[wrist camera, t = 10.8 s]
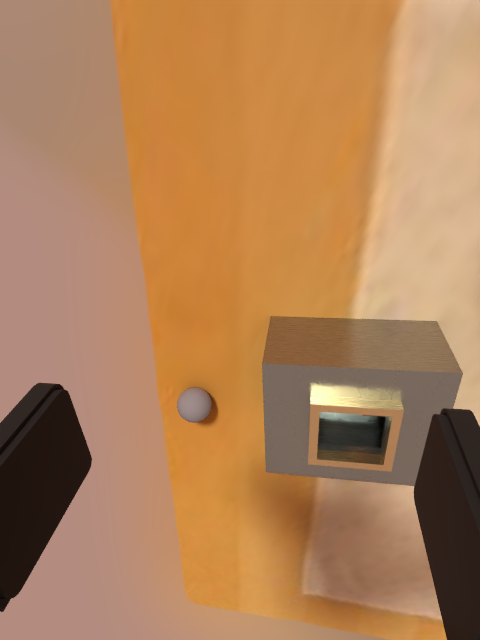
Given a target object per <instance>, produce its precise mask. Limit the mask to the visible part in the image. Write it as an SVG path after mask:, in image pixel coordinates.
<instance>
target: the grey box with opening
mask: <svg viewBox="0 0 480 640" xmlns="http://www.w3.org/2000/svg"><path fill="white" fill-rule="evenodd" d="M262 370H263V399H264V428H265V457H266V472H270V473H281V474H291V475H302V476H313V477H323V478H334V479H345V480H356V481H366V482H377V483H388V484H399V485H409V486H415V482H416V478H417V474H418V470H419V466H420V462H421V458H422V455H423V451H424V447H425V443H426V439H427V435H428V431H429V427H430V423H431V419H432V416H433V415H434V414H440V413H441V410H442V409H443V408H447V409H453V406H454V403H455V399H456V396H457V392H458V389H459V385H460V382H461V378H462V375H463V373H462V371H461V369H460V367H459V365H458V363H457V361H456V359H455V357H454V355H453V353H452V351H451V349H450V347H449V345H448V343H447V341H446V339H445V337H444V335H443V333H442V331H441V329H440V327H439V325H438V323H437V321H404V320H371V319H338V318H305V317H272V316H271V318H270V323H269V329H268V334H267V340H266V345H265V351H264V357H263V362H262ZM362 415H373V416H362Z"/></svg>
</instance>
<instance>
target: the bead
mask: <svg viewBox="0 0 480 640" xmlns="http://www.w3.org/2000/svg"><path fill="white" fill-rule="evenodd" d="M177 408H178V412H179V414H180V416H181V417H182V418H183V419H185V420H186V421H188V422H194V423H195V422H200V421H202V420H204V419H205V418H206V417H207V416H208V415H209V414H210V412H211V409H212V400H211V397H210V395H209V394H208V393H207V392H206V391H205V390H203V389H201V388H198V387H192V388H189V389H187V390H185V391H184V392H183V393H182V394H181V395H180V397H179V399H178V402H177Z"/></svg>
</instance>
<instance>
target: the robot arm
mask: <svg viewBox="0 0 480 640" xmlns="http://www.w3.org/2000/svg"><path fill="white" fill-rule="evenodd" d="M91 461H92V458H91V454H90V451H89V449H88V446H87V443H86V440H85V437H84V435H83V432H82V429H81V426H80V424H79V421H78V418H77V415H76V412H75V409H74V407H73V404H72V401H71V398H70V395H69V393H68V391H66V390H64V388H63V387H62V386H61V385H60V384H49V383H38V384H36V385H35V386H33V388H32V389H31V390H30V391H29V392H28V393H27V394H26V395H25V396H24V397H23V399H22V400H21V401H20V402H19V403H18V404H17V405H16V406H15V407H14V409H13V410H12V411H11V412H10V413H9V414H8V415H7V416H6V417H5V418H4V420H3V421H2V422H1V423H0V611H1V612H3V611H4V609H5V608H6V606H7V604H8V603H9V601H10V599H11V598H14V597H15V596H16V595H17V594H18V593H19V592H20V591H21V589H22V587H23V586H24V584H25V582H26V580H27V579H28V577H29V575H30V573H31V572H32V570H33V568H34V566H35V565H36V563H37V561H38V559H39V558H40V556H41V554H42V552H43V550H44V549H45V547H46V545H47V544H48V542H49V540H50V538H51V537H52V535H53V533H54V531H55V530H56V528H57V526H58V524H59V522H60V521H61V519H62V517H63V515H64V514H65V512H66V510H67V508H68V507H69V505H70V503H71V501H72V500H73V498H74V496H75V494H76V493H77V491H78V489H79V487H80V486H81V484H82V482H83V480H84V479H85V477H86V475H87V473H88V472H89V470H90V467H91ZM414 501H415V506H416V510H417V514H418V518H419V522H420V527H421V531H422V535H423V539H424V544H425V548H426V552H427V556H428V561H429V565H430V569H431V573H432V577H433V582H434V586H435V590H436V594H437V599H438V603H439V607H440V611H441V616H442V620H443V624H444V628H445V632H446V637H447V640H480V427H479V425H478V422H477V420H476V418H475V416H474V414H473V413H472V411H470V410H463V409H447V408H443V409H442V410H441V413H440V414H434V415H433V416H432V419H431V423H430V427H429V431H428V435H427V439H426V443H425V447H424V451H423V455H422V458H421V462H420V466H419V470H418V474H417V478H416V482H415V486H414Z"/></svg>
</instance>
